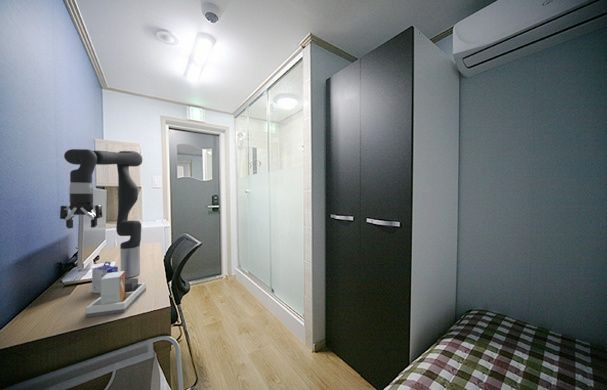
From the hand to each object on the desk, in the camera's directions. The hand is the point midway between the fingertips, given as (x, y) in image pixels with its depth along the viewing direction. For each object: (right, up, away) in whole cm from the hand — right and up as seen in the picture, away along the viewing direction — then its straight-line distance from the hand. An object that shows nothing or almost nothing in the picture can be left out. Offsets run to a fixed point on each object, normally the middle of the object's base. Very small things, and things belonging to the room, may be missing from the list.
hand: (81, 227), depth 98 cm
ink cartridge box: (+1, -34, +10) cm, 36 cm away
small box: (+19, -33, -5) cm, 39 cm away
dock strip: (+18, -34, -1) cm, 39 cm away
